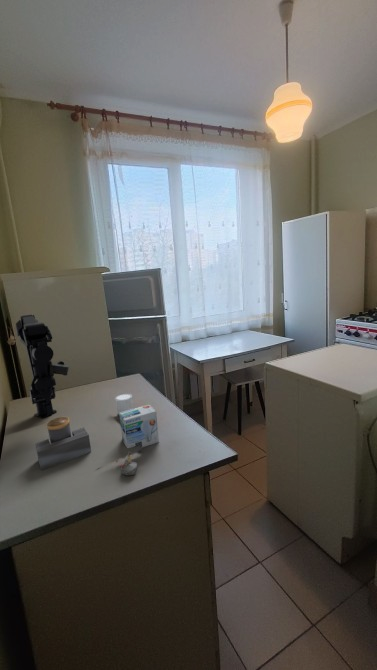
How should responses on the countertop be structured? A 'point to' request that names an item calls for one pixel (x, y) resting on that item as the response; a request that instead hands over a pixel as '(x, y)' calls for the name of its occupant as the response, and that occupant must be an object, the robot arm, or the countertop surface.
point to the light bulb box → (139, 426)
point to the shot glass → (124, 402)
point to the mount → (63, 449)
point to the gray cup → (58, 429)
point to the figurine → (128, 466)
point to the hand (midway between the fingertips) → (48, 401)
